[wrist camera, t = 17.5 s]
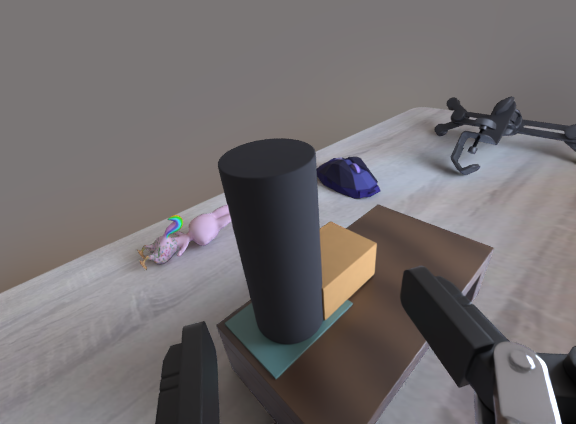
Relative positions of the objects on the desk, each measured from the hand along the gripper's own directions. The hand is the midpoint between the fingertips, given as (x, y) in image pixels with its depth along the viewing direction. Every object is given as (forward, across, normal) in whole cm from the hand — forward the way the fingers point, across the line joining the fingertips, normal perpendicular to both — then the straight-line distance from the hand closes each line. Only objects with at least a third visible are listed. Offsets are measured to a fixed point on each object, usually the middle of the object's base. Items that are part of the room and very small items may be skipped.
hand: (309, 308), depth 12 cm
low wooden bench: (+8, -7, +16) cm, 19 cm away
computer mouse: (+36, -17, +16) cm, 43 cm away
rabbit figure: (+27, +9, +16) cm, 33 cm away
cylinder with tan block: (+9, -2, +9) cm, 13 cm away
